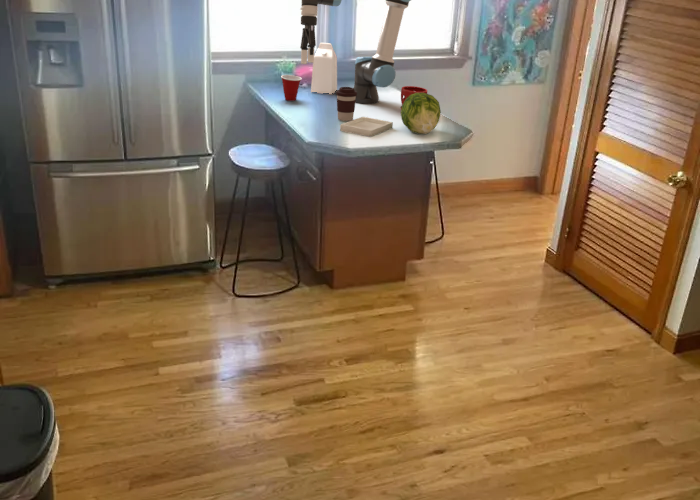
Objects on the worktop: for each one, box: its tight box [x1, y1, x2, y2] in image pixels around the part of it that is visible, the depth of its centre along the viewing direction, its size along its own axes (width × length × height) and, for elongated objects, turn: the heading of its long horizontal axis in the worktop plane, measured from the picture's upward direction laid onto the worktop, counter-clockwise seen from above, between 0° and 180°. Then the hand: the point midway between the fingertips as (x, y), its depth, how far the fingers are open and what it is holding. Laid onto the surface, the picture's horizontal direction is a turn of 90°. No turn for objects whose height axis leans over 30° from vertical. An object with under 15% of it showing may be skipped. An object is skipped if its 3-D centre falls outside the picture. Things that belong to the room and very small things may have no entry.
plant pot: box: [400, 85, 428, 110], centre depth 366 cm, size 13×13×12 cm
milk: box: [310, 42, 338, 95], centre depth 398 cm, size 12×12×26 cm
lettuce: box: [400, 93, 442, 135], centre depth 329 cm, size 18×23×19 cm
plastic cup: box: [280, 74, 303, 102], centre depth 378 cm, size 11×11×12 cm
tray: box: [339, 116, 394, 138], centre depth 331 cm, size 20×16×3 cm
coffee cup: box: [335, 86, 357, 122], centre depth 344 cm, size 10×10×15 cm
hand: (307, 63), depth 341 cm, fingers open, 13 cm apart
